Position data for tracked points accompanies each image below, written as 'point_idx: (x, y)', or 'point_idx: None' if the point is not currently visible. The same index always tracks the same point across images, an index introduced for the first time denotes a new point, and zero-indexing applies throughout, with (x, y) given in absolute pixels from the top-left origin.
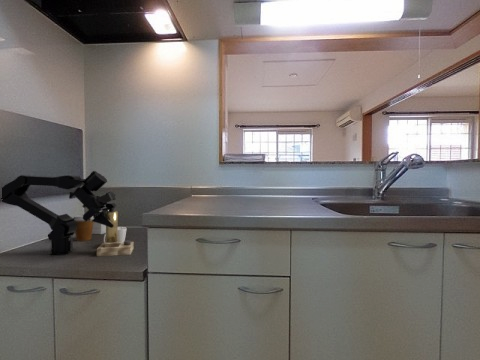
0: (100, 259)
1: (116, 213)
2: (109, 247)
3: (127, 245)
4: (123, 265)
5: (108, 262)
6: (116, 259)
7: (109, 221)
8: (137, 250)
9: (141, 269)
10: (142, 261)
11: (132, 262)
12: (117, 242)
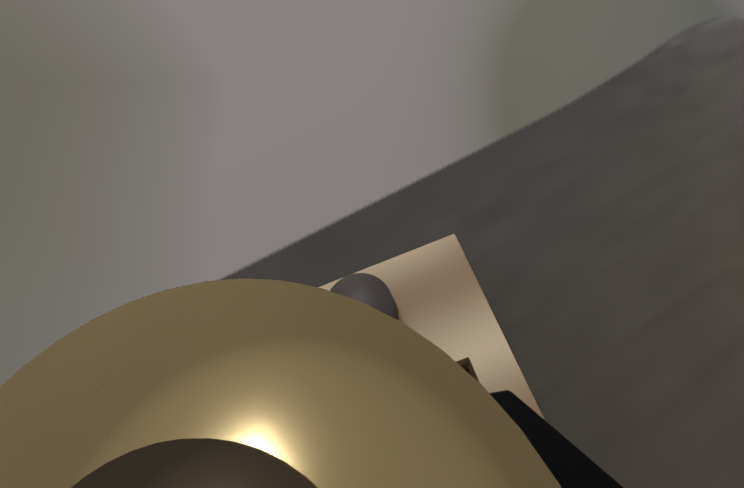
0: (672, 450)
1: (307, 308)
2: None
3: (400, 293)
4: (726, 163)
5: (717, 315)
6: (615, 296)
7: (613, 482)
8: (335, 265)
9: (740, 28)
10: (589, 98)
11: (636, 143)
12: None
